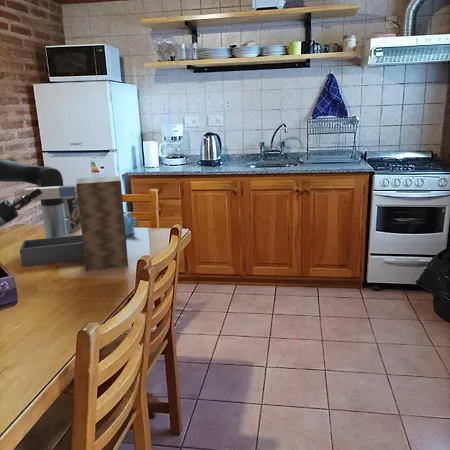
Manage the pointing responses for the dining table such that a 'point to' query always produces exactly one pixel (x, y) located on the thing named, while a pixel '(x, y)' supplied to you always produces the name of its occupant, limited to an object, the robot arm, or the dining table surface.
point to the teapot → (129, 223)
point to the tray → (52, 250)
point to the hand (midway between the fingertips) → (40, 189)
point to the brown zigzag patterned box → (102, 222)
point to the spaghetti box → (53, 192)
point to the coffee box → (72, 213)
